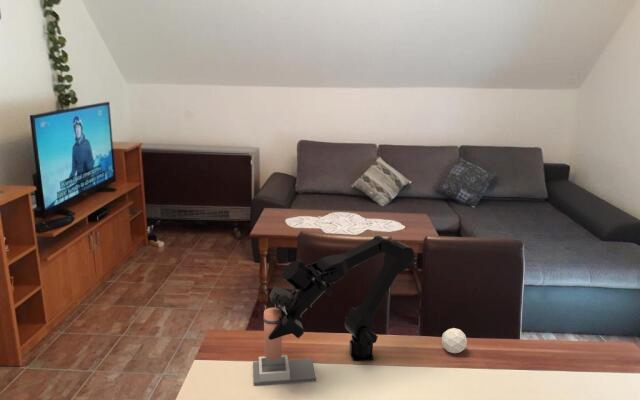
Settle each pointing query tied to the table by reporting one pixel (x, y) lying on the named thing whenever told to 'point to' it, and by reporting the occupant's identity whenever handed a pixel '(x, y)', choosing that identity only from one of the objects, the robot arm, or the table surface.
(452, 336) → the geometric ball
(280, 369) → the jig
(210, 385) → the table surface
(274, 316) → the banded pink rod
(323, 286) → the robot arm
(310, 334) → the table surface
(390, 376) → the table surface
